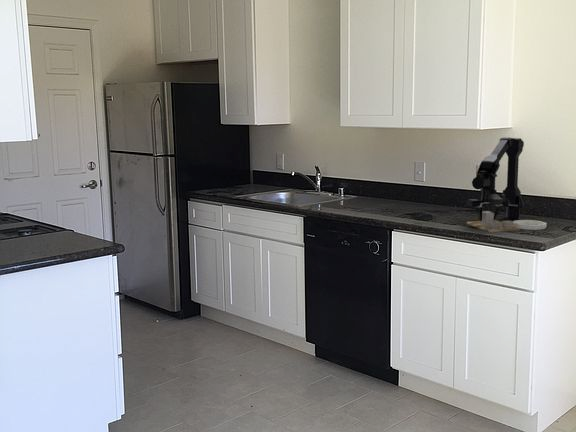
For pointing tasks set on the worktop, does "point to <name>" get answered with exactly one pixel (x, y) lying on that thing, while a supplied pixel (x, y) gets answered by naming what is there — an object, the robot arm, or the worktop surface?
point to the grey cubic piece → (507, 224)
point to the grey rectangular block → (487, 217)
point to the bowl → (529, 224)
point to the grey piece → (493, 225)
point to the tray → (477, 224)
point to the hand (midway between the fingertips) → (487, 220)
